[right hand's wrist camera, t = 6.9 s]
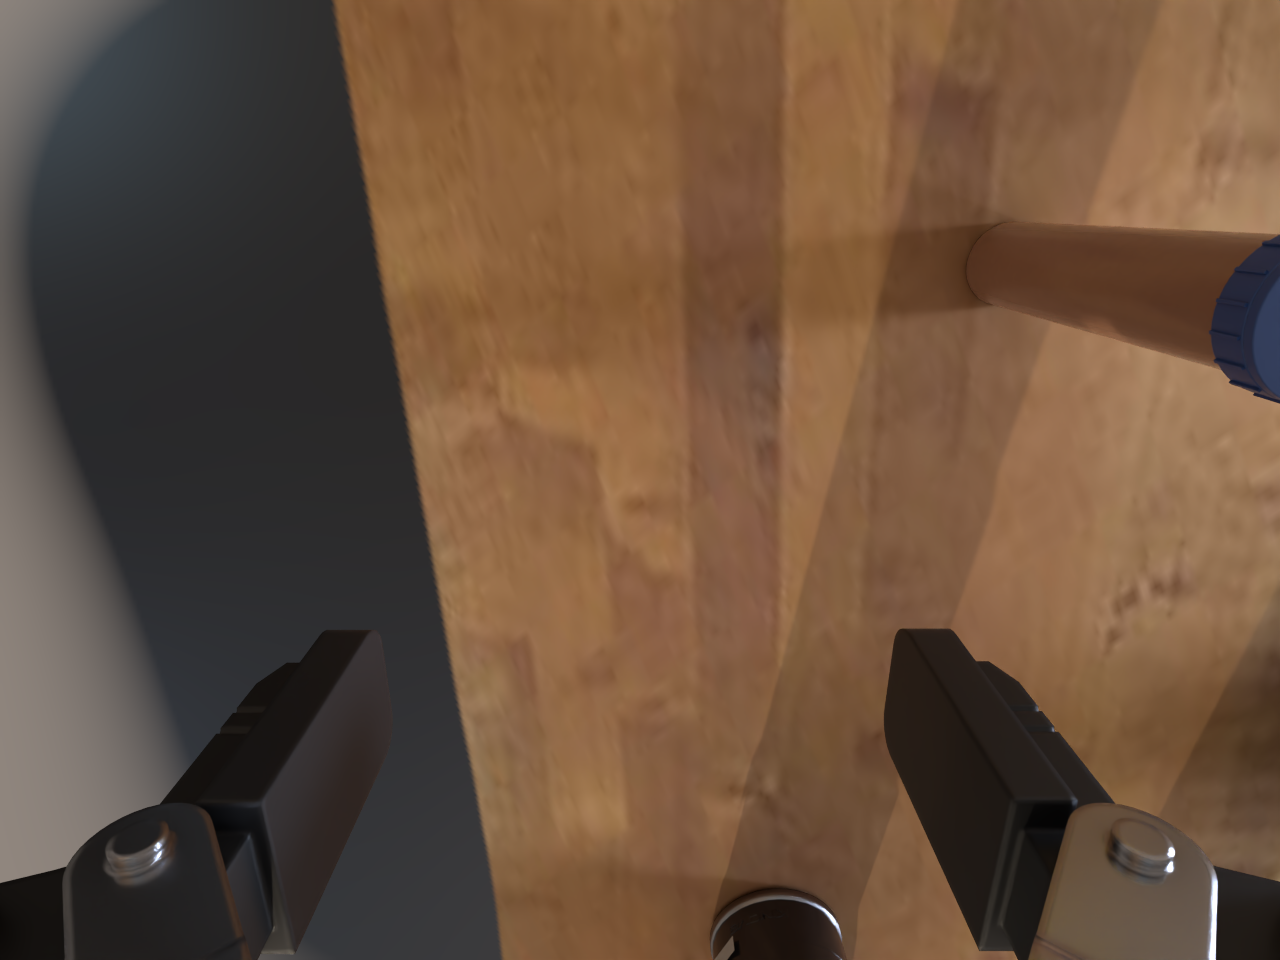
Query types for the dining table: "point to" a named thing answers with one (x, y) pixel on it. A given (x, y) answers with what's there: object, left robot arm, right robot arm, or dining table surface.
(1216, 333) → the lid
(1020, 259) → the brown cylinder
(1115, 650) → the dining table surface
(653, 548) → the dining table surface
